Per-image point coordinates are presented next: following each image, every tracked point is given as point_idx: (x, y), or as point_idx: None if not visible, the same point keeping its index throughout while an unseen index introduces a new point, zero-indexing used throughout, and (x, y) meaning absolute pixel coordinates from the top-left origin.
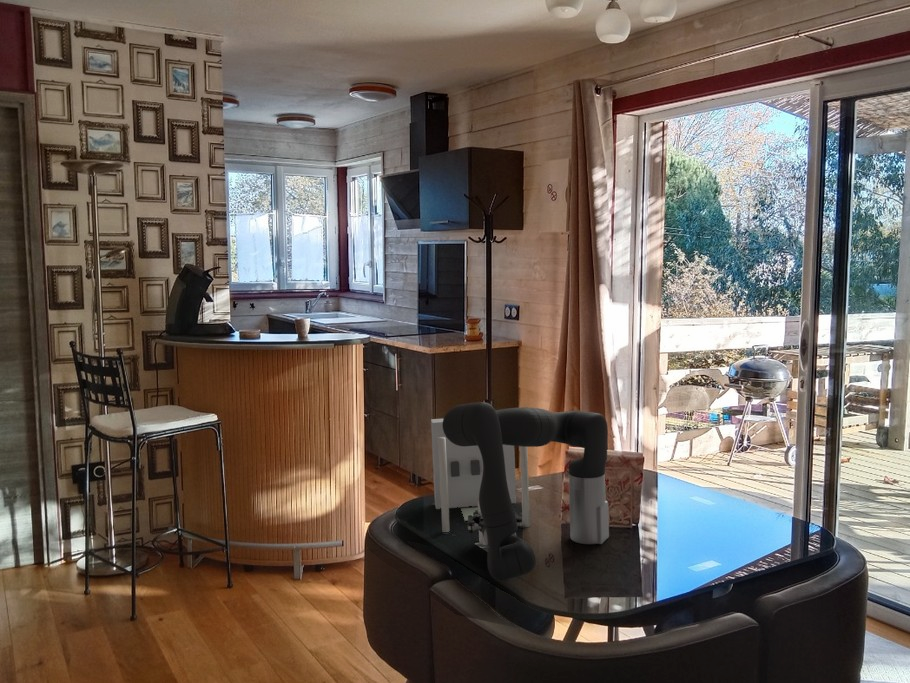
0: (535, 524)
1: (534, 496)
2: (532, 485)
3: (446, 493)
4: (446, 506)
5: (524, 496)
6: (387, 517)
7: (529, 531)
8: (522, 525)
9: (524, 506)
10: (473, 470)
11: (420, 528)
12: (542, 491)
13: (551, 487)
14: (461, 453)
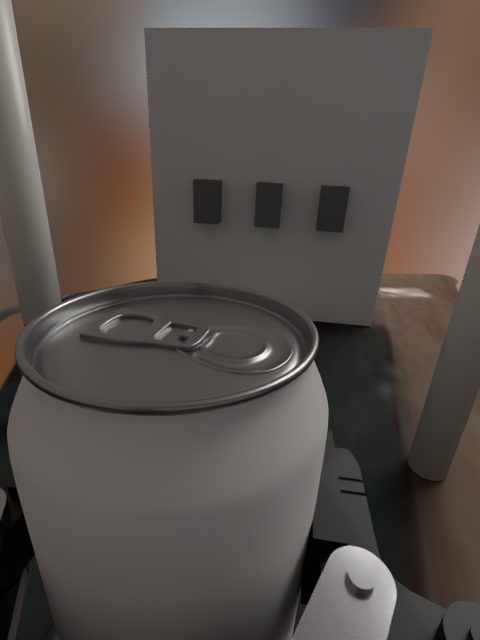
0: (472, 464)
1: (418, 314)
2: (405, 287)
3: (27, 247)
4: (37, 315)
5: (475, 335)
6: (19, 307)
7: (461, 541)
8: (408, 460)
9: (455, 388)
10: (260, 211)
11: (18, 369)
12: (434, 304)
13: (453, 298)
14: (232, 155)
